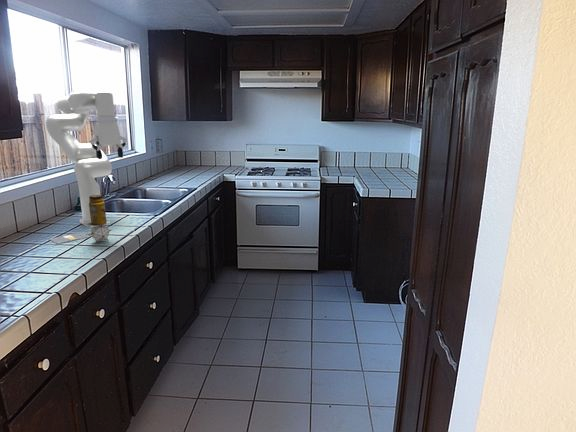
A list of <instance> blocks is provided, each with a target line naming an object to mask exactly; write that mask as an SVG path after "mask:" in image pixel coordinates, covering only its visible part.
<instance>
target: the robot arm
mask: <svg viewBox="0 0 576 432" xmlns="http://www.w3.org/2000/svg"><path fill="white" fill-rule="evenodd" d="M114 104H115V103H114V96H113V93H112V92H111V91H103V90H102V91H90V90H89V91H87V90H85V91H80V90H79V91H78V90H77V91H74V92H73V91H72V92H70V93H69V94H68V95H66V96H64V97H61V98H59V99H58V101H57V105H56V107H57V108H58V110H59V111H60V112H61V113H62V114H60V113H59V114H53V115H50V116H49V117H47V118H46V119H45V120H46V121H45V126H46V130H47V132H48V134H49V136H50V137H51V139H53V141H54V142H55V143H56V144H58V146H59V147H60V148H61V150H62V151H63V152H64V154H65V155H66V156H67V158H68V160H70V162H71V163H73V171H74V174H75V176H76V181H77V185H78V186H77V187H78V192H79V193H78V194H79V200H80V201H79V202H80V208H81V216H82V217H81V219H79V224H82V225H83V224H87V223H91V217H90V209H89V202H90V201H89V197H90V196H93V195H102V194H101V187H100V184H99V182H97V181H96V180H95V178H101V177H102V178H103V177H107V176H109V175H111V174H112V171H113V165H112V162H111V161H110V159H109V157H107V155H106V154H105V153H104V151H103V150H102V147H106V146H107V147H109V146H116V147H117V158H120V159H121V158H123V156H124V151H123V150H124V148H125V146H126V145H127V141H128V139H127V138H126V137H123V136H121V133H120V129H119V125H118V123H117V122H116V121H118V120H119V118H118V117H117V116H116V115H115V105H114ZM91 109H94V110H95V112H96V121H97V123H95V126H94V137H92V138H91V139H90V140H88V143H81V142H79V141H78V139H77V137H76V136H74V135H72V134H71V133H70V132H79V131H82V130H84V128H85V126H86V124H87V121H88V117H89V115H90V112H91ZM107 220H108V218H107V217H106V221H107Z"/></svg>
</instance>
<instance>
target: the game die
mask: <svg viewBox="0 0 576 432" xmlns="http://www.w3.org/2000/svg"><path fill="white" fill-rule="evenodd" d="M111 231H112V229H109V228H108V226H106V224H104V225H100V226H96V227H91V231H90V233H89V234H87V235H88V236H91V238H92V239H93V240H94V241H95V244H98V242H102V241H106V242H109V239H108V238H109V236H110V232H111Z"/></svg>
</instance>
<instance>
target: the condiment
mask: <svg viewBox="0 0 576 432" xmlns="http://www.w3.org/2000/svg"><path fill="white" fill-rule="evenodd" d="M103 196H104V195H102V194H101V195H93V196H90V197H89V201H90V202H89V209H90V217H91V223H87V224H82V225H83V226H85V227H91V228H92V227H96V226H100V225H107V224H111V221H107V220H106V218H107V213H106V206H105V204H106V203H105V201H104V197H103Z"/></svg>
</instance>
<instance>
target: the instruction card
mask: <svg viewBox="0 0 576 432" xmlns="http://www.w3.org/2000/svg"><path fill="white" fill-rule="evenodd" d="M88 235H89V234H86V233H84V232H83V231H82V232H77V233H76V232H75V233H71V234H66V235H62V236H57V237H53V238H48V240H49V241H51V242H52V243H54V244H56V245H59V244H60V245H61V244H66V243H70V242H74V241H79V240H82V239H88V238H92V236H91V235H90V236H88Z"/></svg>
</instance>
